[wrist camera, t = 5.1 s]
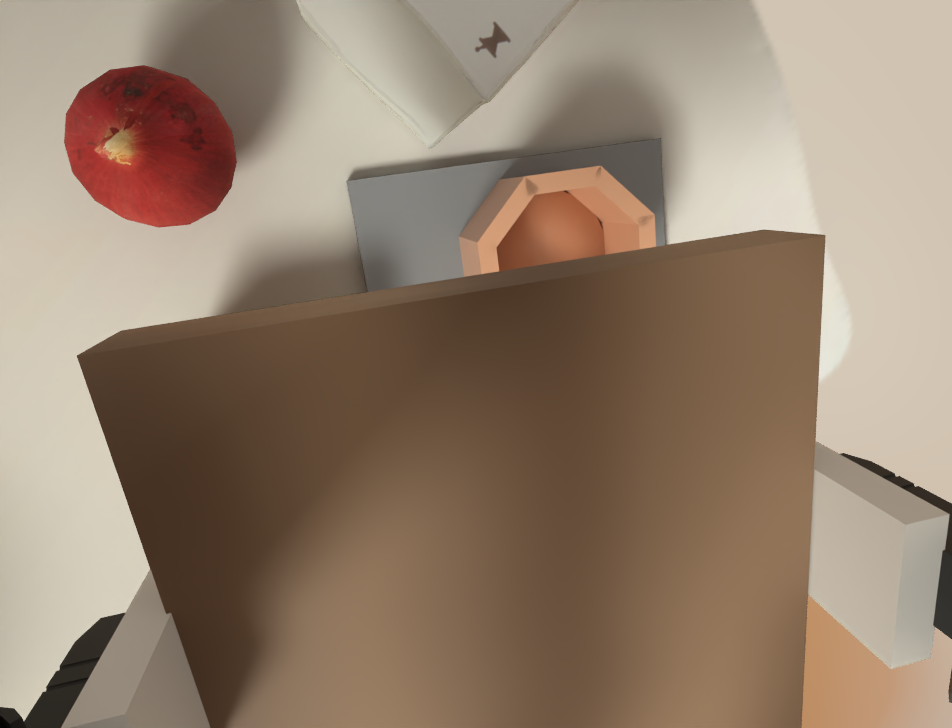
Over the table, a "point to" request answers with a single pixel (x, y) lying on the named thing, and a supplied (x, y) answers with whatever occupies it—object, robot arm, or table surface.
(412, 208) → the placemat
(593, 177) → the bowl
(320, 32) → the skincare box
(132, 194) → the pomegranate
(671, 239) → the table surface
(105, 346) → the board
